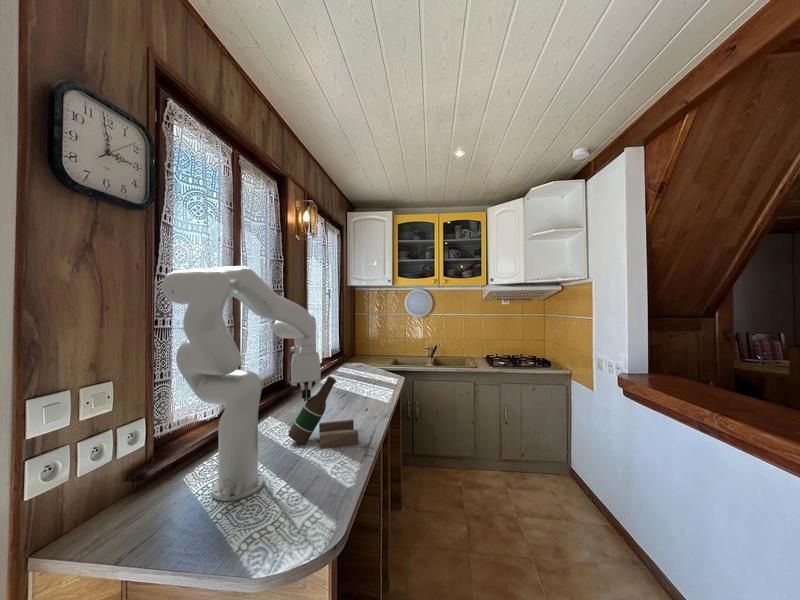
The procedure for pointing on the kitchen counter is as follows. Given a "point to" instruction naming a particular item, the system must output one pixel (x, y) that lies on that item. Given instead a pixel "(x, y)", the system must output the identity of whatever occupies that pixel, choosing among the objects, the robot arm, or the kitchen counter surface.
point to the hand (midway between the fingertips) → (306, 400)
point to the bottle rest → (337, 434)
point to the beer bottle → (311, 414)
